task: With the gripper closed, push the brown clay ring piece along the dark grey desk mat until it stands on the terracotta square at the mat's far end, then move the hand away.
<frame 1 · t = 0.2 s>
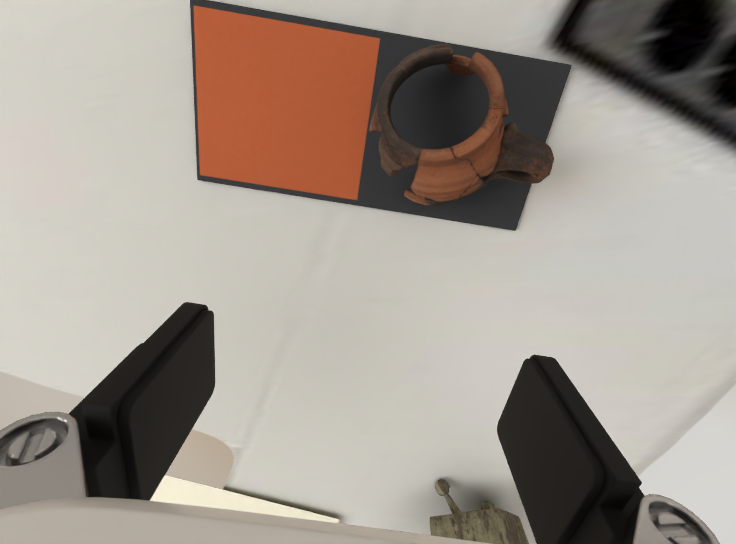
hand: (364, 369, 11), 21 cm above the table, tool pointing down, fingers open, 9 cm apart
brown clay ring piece: (449, 139, 27), resting on desk mat
tabletop clock: (470, 503, 45), on the table
desk mat: (370, 126, 27), on the table
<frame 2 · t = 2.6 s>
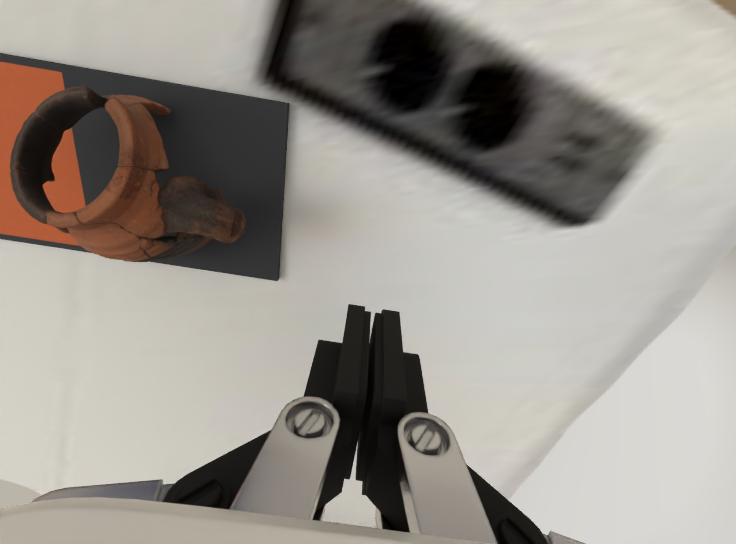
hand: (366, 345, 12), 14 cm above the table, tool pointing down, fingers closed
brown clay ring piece: (177, 183, 24), resting on desk mat
desk mat: (87, 168, 24), on the table
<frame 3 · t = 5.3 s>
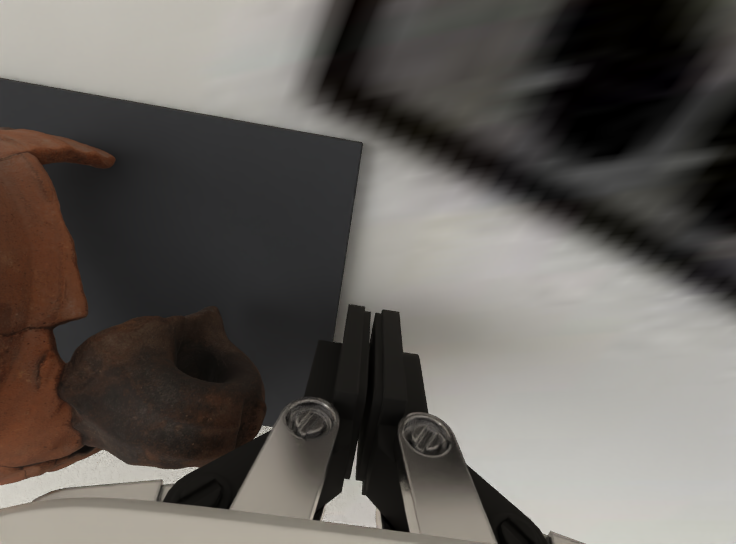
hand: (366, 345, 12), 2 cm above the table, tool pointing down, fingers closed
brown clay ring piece: (135, 283, 13), resting on desk mat
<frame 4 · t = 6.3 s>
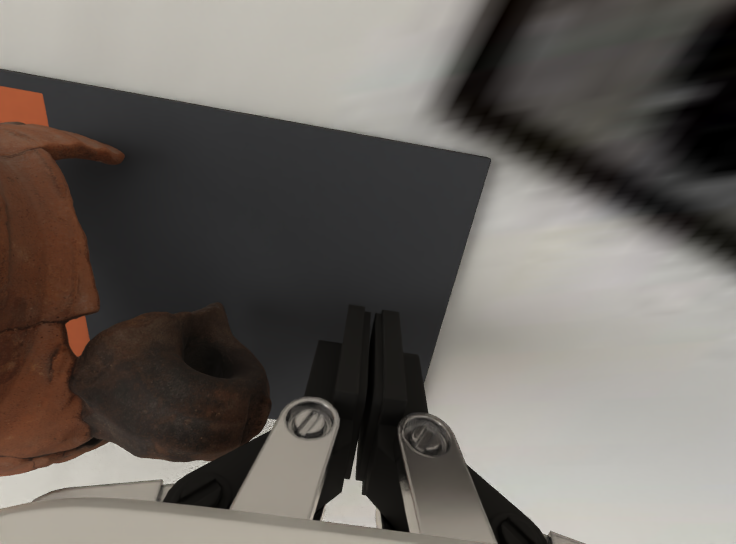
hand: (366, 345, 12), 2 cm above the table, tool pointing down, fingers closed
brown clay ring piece: (140, 278, 13), resting on desk mat, touching gripper
desk mat: (90, 263, 13), on the table
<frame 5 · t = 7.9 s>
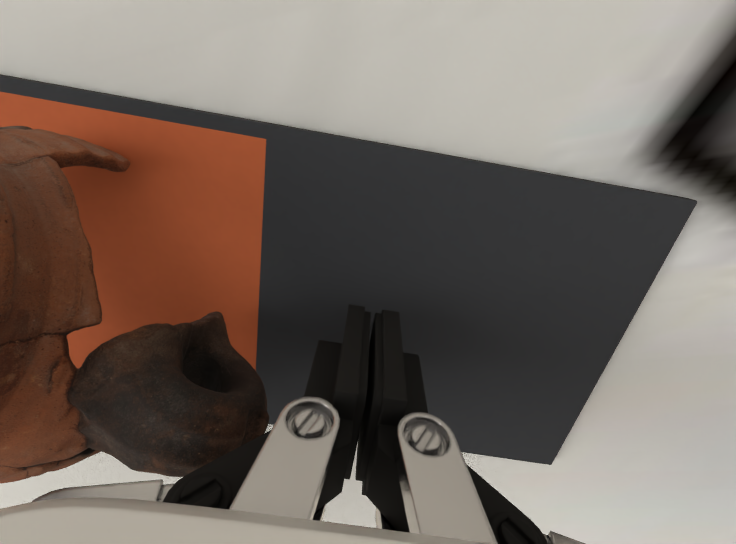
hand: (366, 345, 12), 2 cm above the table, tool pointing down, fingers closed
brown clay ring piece: (139, 283, 13), resting on desk mat, touching gripper
desk mat: (268, 297, 13), on the table
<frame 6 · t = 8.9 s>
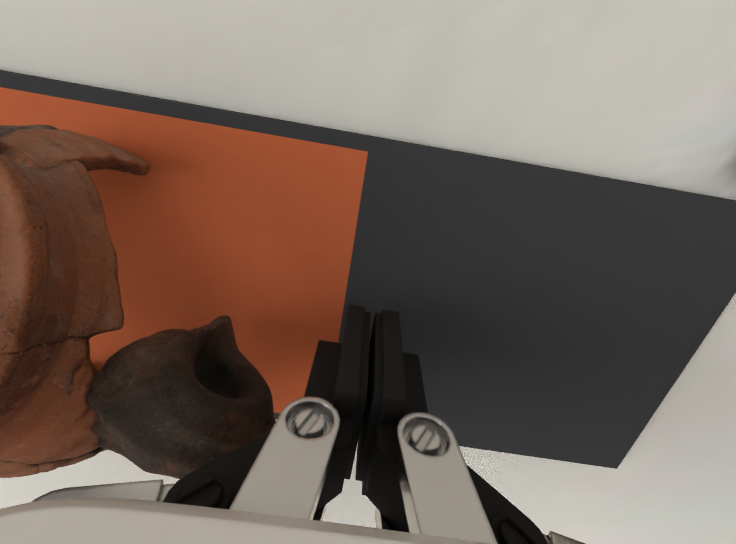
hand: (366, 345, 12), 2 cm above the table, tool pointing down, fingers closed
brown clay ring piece: (148, 282, 13), resting on desk mat, touching gripper
desk mat: (350, 304, 14), on the table
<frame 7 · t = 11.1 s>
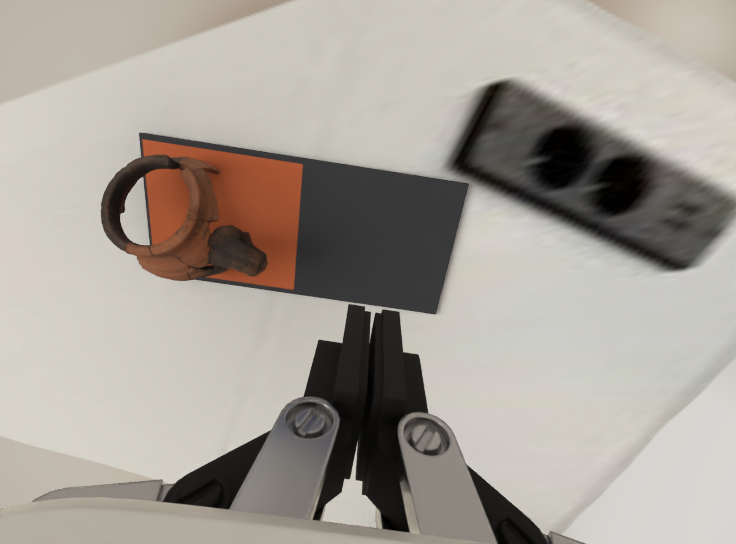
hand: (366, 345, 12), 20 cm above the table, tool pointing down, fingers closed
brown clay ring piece: (214, 221, 31), resting on desk mat
desk mat: (301, 230, 31), on the table
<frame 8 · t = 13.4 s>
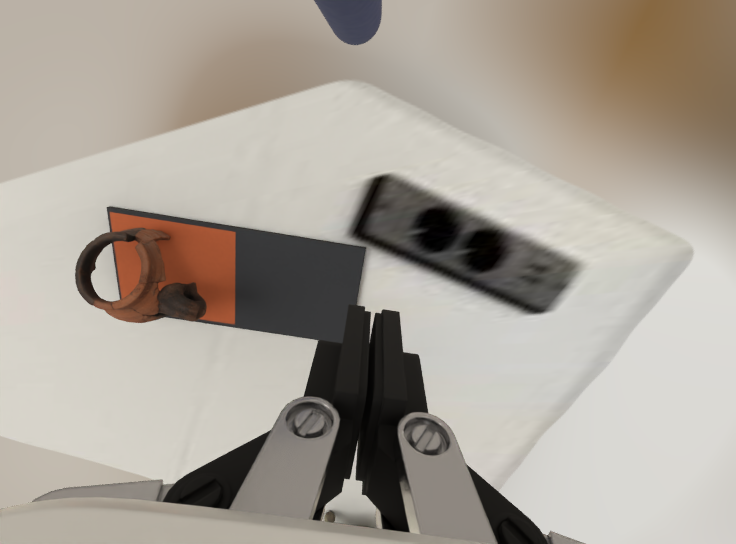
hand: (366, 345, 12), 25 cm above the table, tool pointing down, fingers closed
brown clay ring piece: (168, 272, 39), resting on desk mat
desk mat: (238, 279, 39), on the table
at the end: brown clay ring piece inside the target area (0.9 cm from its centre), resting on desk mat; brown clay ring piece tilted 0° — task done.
